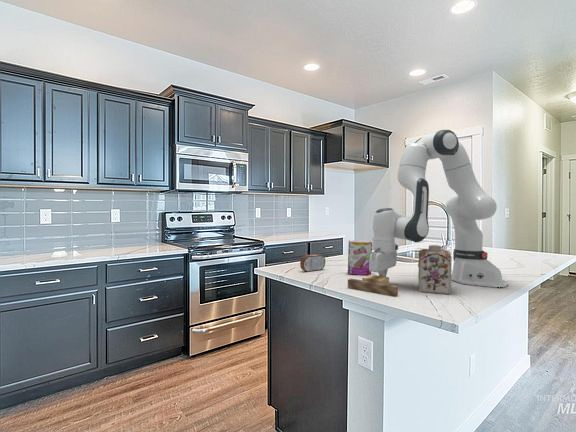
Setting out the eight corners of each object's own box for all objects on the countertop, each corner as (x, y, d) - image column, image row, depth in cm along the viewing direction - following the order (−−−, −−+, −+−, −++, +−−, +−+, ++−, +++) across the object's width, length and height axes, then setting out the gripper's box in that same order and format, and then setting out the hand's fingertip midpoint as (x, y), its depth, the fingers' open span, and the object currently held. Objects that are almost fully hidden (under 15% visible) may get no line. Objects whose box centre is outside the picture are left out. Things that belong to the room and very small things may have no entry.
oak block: (388, 289, 139) (389, 277, 139) (380, 293, 132) (381, 280, 132) (370, 286, 144) (370, 274, 144) (362, 289, 138) (362, 277, 137)
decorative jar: (448, 288, 140) (449, 244, 140) (451, 295, 129) (452, 248, 129) (417, 285, 144) (418, 243, 144) (418, 291, 134) (419, 246, 133)
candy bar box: (348, 275, 164) (348, 241, 164) (347, 272, 169) (348, 240, 169) (371, 275, 163) (372, 241, 163) (370, 273, 168) (370, 240, 168)
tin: (322, 268, 179) (322, 253, 179) (326, 269, 177) (326, 253, 177) (299, 271, 171) (299, 255, 171) (303, 273, 168) (303, 256, 168)
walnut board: (397, 295, 128) (398, 286, 128) (395, 296, 126) (395, 287, 126) (350, 286, 141) (350, 278, 141) (347, 287, 139) (347, 279, 139)
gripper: (380, 250, 131) (379, 285, 132) (399, 245, 147) (399, 277, 148) (365, 248, 135) (364, 282, 136) (385, 244, 151) (385, 275, 152)
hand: (382, 279), depth 142 cm, fingers closed
